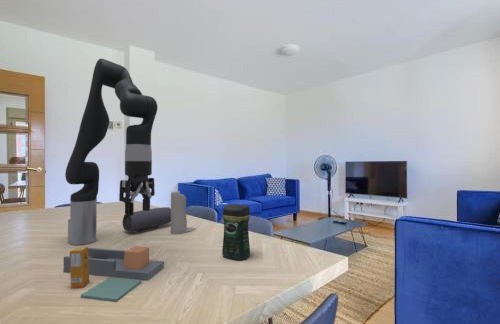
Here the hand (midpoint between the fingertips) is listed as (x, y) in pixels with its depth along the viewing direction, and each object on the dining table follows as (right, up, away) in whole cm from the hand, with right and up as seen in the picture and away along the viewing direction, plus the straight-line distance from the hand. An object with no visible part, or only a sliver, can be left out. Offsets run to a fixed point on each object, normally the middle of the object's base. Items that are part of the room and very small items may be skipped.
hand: (138, 213), depth 79 cm
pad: (-2, -18, -11) cm, 21 cm away
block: (0, -16, 0) cm, 16 cm away
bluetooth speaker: (-16, -18, +49) cm, 55 cm away
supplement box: (-12, -18, -9) cm, 23 cm away
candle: (+2, -18, +47) cm, 51 cm away
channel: (-9, -18, +1) cm, 20 cm away
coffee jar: (+29, -18, +14) cm, 37 cm away
